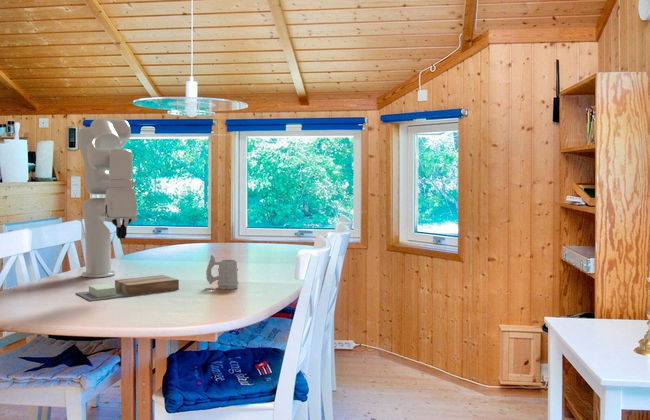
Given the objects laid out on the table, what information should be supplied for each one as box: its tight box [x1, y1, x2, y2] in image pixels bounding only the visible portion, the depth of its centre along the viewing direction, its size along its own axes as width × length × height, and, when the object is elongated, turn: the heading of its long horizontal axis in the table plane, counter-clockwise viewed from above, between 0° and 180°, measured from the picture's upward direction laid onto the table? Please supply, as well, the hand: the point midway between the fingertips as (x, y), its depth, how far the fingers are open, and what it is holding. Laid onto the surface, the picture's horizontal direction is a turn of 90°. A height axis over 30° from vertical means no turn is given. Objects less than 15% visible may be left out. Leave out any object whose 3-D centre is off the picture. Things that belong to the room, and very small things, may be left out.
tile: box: [88, 283, 116, 297], centre depth 190 cm, size 9×6×2 cm, turn 40°
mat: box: [75, 289, 134, 302], centre depth 190 cm, size 15×14×1 cm
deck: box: [114, 274, 180, 296], centre depth 200 cm, size 13×18×4 cm
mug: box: [205, 254, 240, 290], centre depth 205 cm, size 8×12×12 cm, turn 91°
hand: (121, 238), depth 193 cm, fingers closed
